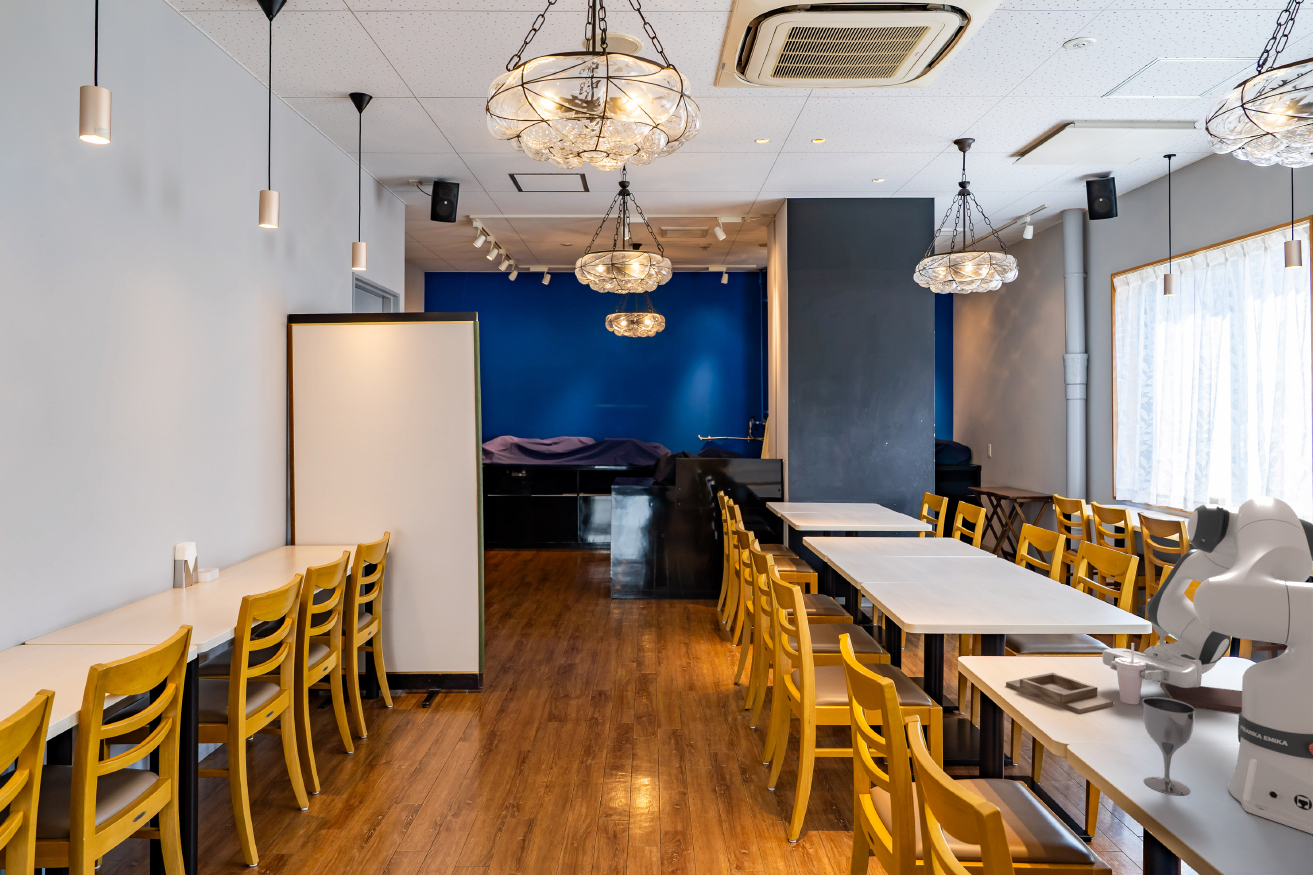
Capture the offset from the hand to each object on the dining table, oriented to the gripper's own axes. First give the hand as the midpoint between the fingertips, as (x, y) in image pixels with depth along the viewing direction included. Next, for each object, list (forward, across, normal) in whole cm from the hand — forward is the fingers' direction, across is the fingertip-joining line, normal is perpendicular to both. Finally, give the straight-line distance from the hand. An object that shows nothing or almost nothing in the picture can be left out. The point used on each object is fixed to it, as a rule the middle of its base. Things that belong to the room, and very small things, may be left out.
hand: (1128, 670), depth 181 cm
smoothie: (-1, 0, +8) cm, 8 cm away
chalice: (-35, -13, +8) cm, 38 cm away
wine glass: (+35, +30, +8) cm, 47 cm away
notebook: (-21, +8, +8) cm, 24 cm away
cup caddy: (+11, -10, +8) cm, 17 cm away
